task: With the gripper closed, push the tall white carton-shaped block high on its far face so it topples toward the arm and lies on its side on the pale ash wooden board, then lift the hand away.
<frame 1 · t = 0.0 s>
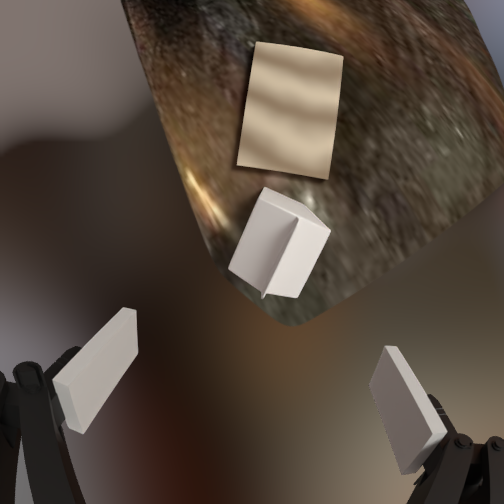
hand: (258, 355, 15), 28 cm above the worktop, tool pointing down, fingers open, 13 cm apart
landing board: (291, 107, 37), on the worktop
white carton-shaped block: (275, 215, 41), on the worktop
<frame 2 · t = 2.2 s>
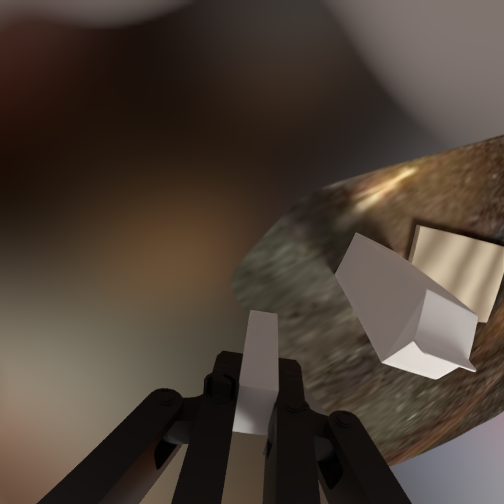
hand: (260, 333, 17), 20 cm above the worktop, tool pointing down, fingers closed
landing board: (456, 277, 35), on the worktop
white carton-shaped block: (364, 262, 36), on the worktop
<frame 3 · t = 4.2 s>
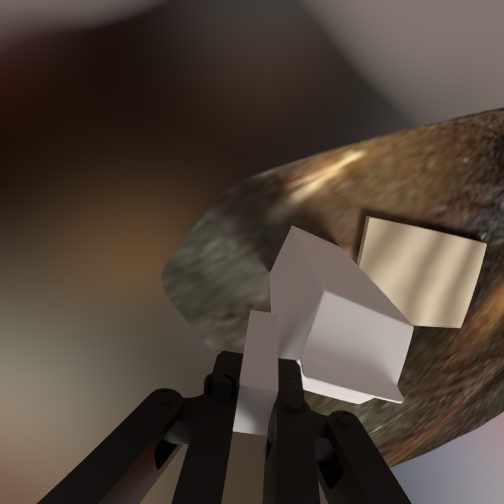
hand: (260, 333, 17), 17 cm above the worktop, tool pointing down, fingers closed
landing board: (420, 277, 33), on the worktop
white carton-shaped block: (304, 259, 33), on the worktop, touching gripper
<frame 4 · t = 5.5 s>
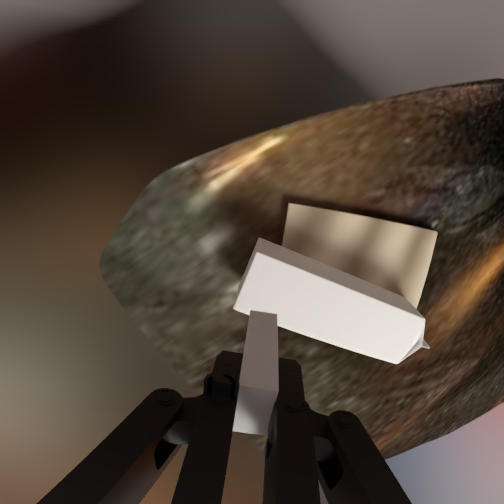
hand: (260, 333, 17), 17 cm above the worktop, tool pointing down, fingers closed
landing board: (356, 267, 33), on the worktop
white carton-shaped block: (244, 270, 30), point 4 cm above the worktop, touching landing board
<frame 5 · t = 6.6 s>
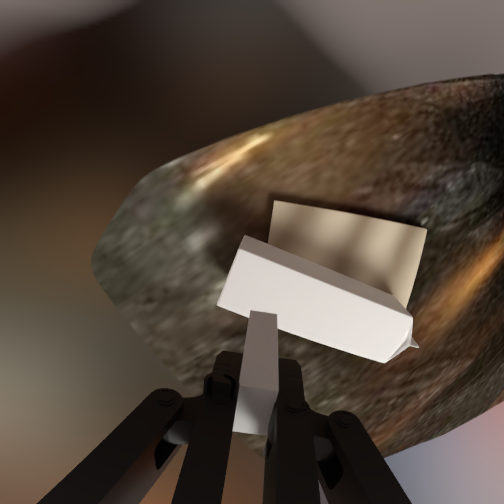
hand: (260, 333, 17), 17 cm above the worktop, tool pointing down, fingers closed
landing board: (344, 265, 33), on the worktop
white carton-shaped block: (229, 266, 30), point 4 cm above the worktop, touching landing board
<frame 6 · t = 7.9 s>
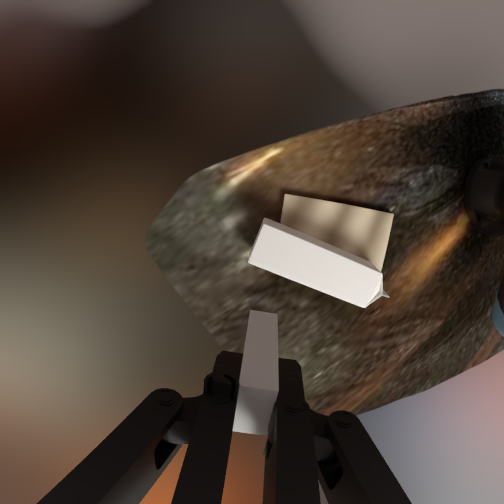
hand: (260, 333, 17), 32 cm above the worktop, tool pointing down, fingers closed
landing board: (333, 239, 48), on the worktop
white carton-shaped block: (255, 238, 44), point 4 cm above the worktop, touching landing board
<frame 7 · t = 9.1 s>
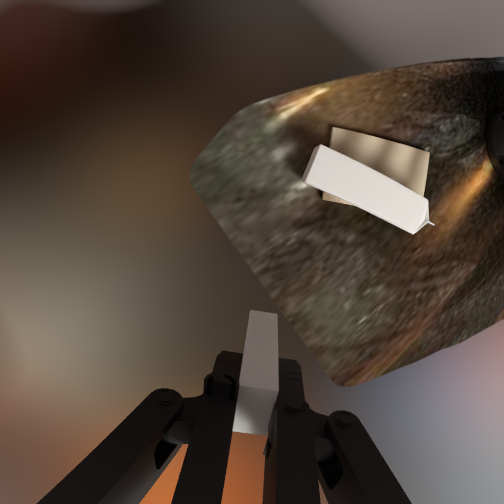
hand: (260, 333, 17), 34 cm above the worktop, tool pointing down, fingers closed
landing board: (377, 173, 46), on the worktop
white carton-shaped block: (308, 163, 43), point 4 cm above the worktop, touching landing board
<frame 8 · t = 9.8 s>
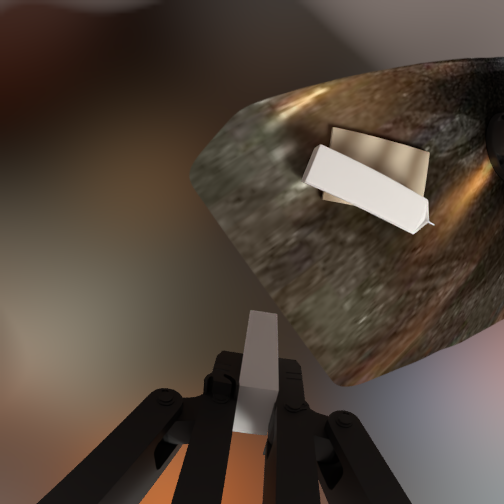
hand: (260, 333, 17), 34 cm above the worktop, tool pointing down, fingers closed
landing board: (377, 173, 46), on the worktop
white carton-shaped block: (308, 163, 43), point 4 cm above the worktop, touching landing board
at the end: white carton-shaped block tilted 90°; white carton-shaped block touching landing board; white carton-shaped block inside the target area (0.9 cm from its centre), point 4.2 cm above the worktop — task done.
